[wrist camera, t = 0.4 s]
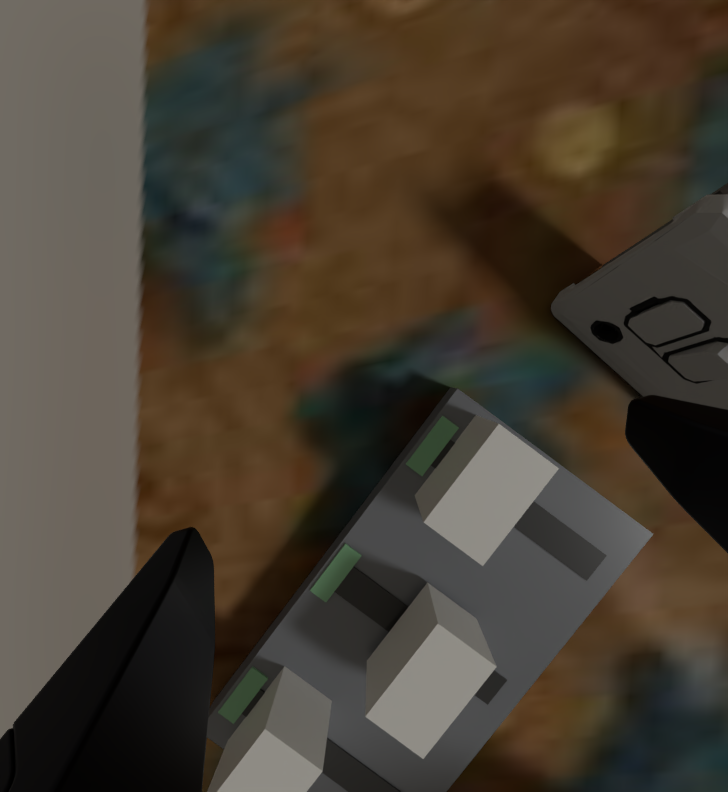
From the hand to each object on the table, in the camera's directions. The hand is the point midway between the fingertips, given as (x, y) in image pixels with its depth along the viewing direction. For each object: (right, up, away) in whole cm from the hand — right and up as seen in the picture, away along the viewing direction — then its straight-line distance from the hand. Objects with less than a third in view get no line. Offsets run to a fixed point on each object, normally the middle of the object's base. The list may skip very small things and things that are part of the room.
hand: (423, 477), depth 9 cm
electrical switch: (+13, +5, +14) cm, 20 cm away
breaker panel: (+2, -10, +15) cm, 18 cm away
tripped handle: (+2, -10, +13) cm, 16 cm away
